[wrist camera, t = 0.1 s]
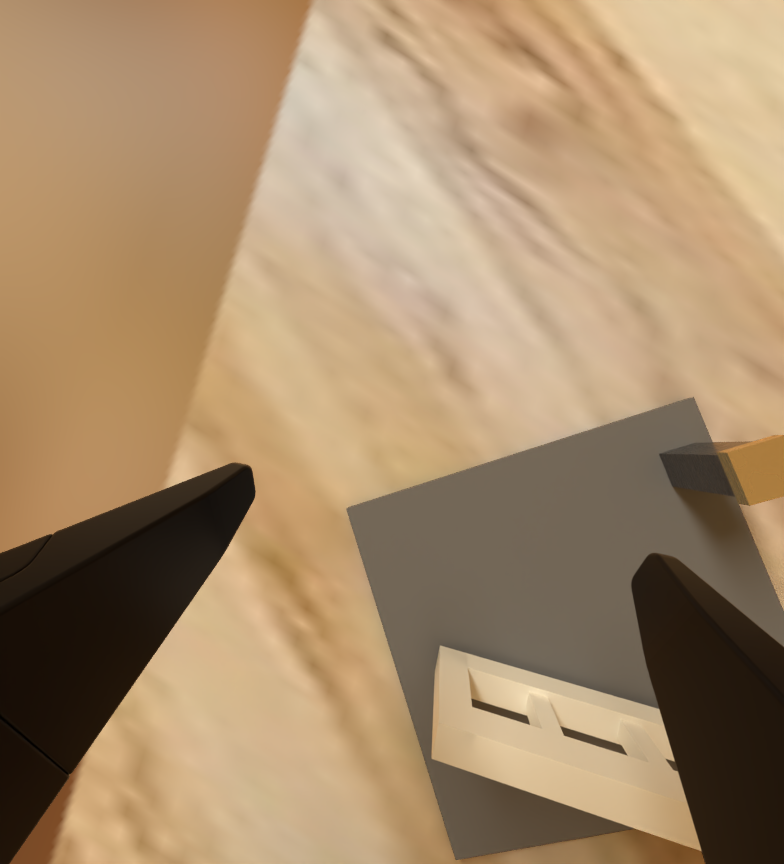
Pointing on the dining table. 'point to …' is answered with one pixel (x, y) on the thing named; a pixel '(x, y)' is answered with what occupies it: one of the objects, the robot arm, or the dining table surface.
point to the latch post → (730, 468)
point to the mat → (546, 589)
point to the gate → (559, 744)
